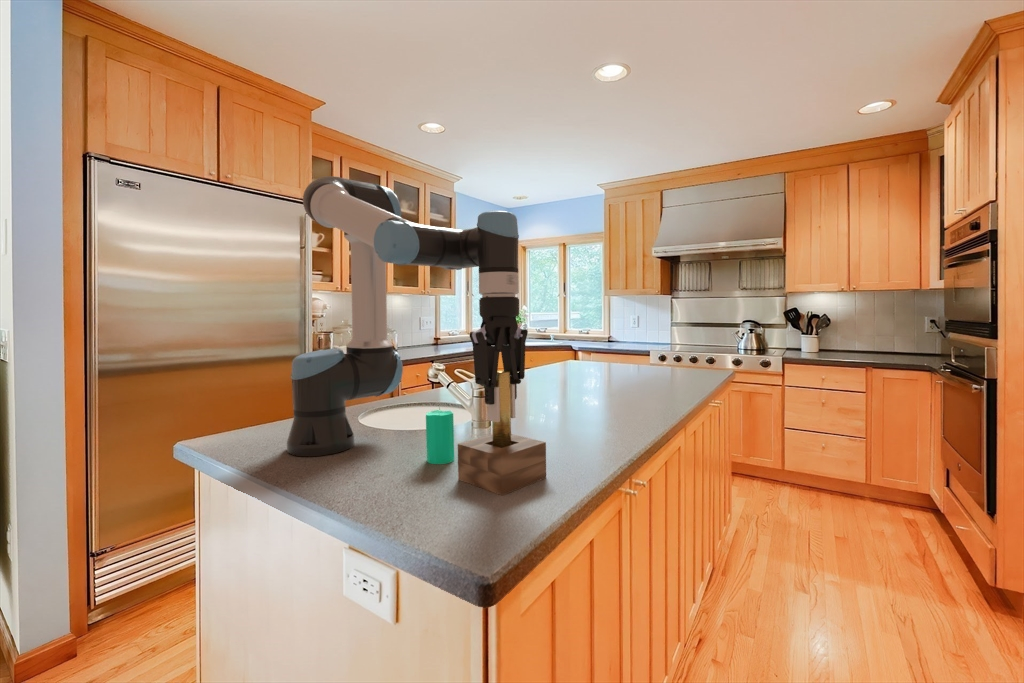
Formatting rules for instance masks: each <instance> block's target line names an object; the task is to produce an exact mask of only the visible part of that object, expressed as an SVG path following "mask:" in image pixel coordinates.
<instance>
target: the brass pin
mask: <svg viewBox="0 0 1024 683" xmlns="http://www.w3.org/2000/svg"><path fill="white" fill-rule="evenodd" d="M495 387H499V397H500V422H493V421H491V422H492V423H491V427H492V428H491V430H492V434H491V435H492V437H493V446H497V447H506V446H510V445H511V434H512V418H511V396H510V371H504V370H497V379H496V386H495Z"/></svg>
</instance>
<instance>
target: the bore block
mask: <svg viewBox="0 0 1024 683" xmlns="http://www.w3.org/2000/svg"><path fill="white" fill-rule="evenodd" d="M457 468H458V469H457V472H458V474H457V476H458V478H457V479H458V480H459V481H462V482H464V483H467V484H470V485H473V486H475V487H477V488H480V489H483V490H486V491H489V492H492V493H494V494H497V495H500V496H504V495H507V494H509V493H512V492H515V491H517V490H519V489H521V488H524V487H526V486H527V487H528V486H529V485H531V484H534V483H536V482H539V481H541V480H544V479H546V478H547V441H542V440H539V439H536V438H535V439H534V438H530V437H525V436H521V435H516V434H514V433H513V434H512V433H511V445H510V446H506V447H497V446H493V437H492V434H489V435H485V436H482V437H478V438H474V439H470V440H466V441H464V442H460V443H457Z"/></svg>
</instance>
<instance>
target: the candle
mask: <svg viewBox="0 0 1024 683" xmlns="http://www.w3.org/2000/svg"><path fill="white" fill-rule="evenodd" d="M425 429H426V430H425V431H426V433H425V434H426V462H427V463H429V464H433V465H446V464H450V463H452V462H454V461H455V430H454V412H452V411H451V410H445V411H444V410H441V406H440V405H438V409H436V410H431V411H428V412H426V413H425Z"/></svg>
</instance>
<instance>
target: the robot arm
mask: <svg viewBox="0 0 1024 683" xmlns="http://www.w3.org/2000/svg"><path fill="white" fill-rule="evenodd" d="M394 192H395V191H393V190H392V189H390V188H388V187H386V186H384V185H380V184H377V183H372V182H366V181H361V180H360V181H359V180H354V179H350V178H349V179H348V178H343V177H340V176H333V175H332V176H330V175H329V176H328V175H327V176H322V177H318V178H317V179H314V180H313V181H311V182H310V183H309V184H308V185H307V187H306V188H305V190H304V191H303V195H302V205H303V207H304V208H303V210H304V211H305V212H306V214H307V216H308V217H309V218H310V219H311V220H313V222H315V223H317V224H319V225H320V226H323V227H324V228H329V229H334V228H336V229H338V230H340V231H342V232H343V238H344V239H345V240H346V241H348V243H349V245H350V277H351V278H350V280H351V285H350V286H351V328H352V329H351V330H352V334H351V335H352V338H351V340H350V341H349V342H348V343H347V344H346V347H345V348H346V353H344V351H343V349H341V348H328V349H327V348H326V349H320V350H314V351H308V352H305V353H301V354H299V355H297V356H295V357H294V358H293V359H292V361H291V374H290V378H291V386H292V388H291V389H292V390H291V391H292V407H293V408H292V409H293V420H292V424H291V427H290V431H289V435H288V437H287V440H286V452H287V453H288V454H289V453H290V454H289V455H291V454H292V456H295V455H296V456H297V457H320V456H328V455H332V454H337V453H341V452H344V451H347V450H349V449H351V448H353V447H354V446H355V435H354V432H353V429H352V427H351V424H350V422H349V419H348V417H347V414H346V402H347V401H351V400H358V399H363V398H364V399H366V398H370V397H380V396H383V395H388V394H391V393H393V392H394V391H395V390H396V389H397V388H398V386H399V385H400V383H401V381H402V377H403V374H404V373H403V372H404V365H403V360H402V359H401V355H400V353H398V352H397V351H396V350H394V344H393V343H392V342H391V341H390V339H389V338H388V320H387V319H388V317H387V316H388V312H387V311H388V310H387V309H388V308H387V304H388V303H387V264H394V265H397V266H422V267H437V268H443V269H444V270H452V271H453V270H456V271H459V270H462V269H470V268H476V267H478V293H479V295H481V297H480V299H478V301H479V302H478V303H479V305H478V306H479V308H478V309H479V316H480V317H481V320H482V321H481V324H480V328H479V329H478V330H476V331H470V332H469V334H468V336H469V338H470V341H471V343H472V354H473V368H474V370H473V372H474V382H475V383H476V385H479V386H481V387H483V388H484V403H485V405H486V420H487V421H489V422H492V421H493V422H500V397H499V387H495V386H496V379H497V371H499V370H498V368H499V360H500V355H501V360H502V361H501V362H502V367H503V371H510V396H511V419H515V418H516V400H517V397H518V396H517V395H518V393H517V392H518V391H517V389H518V388H517V385H520V384H521V382H522V380H524V378H525V376H526V375H525V372H526V370H525V368H526V341H527V337H528V333H529V332H528V329H526V328H521V327H519V325H518V321H517V317H519V316H520V299H519V297H518V296H516V295H518V294H519V290H520V288H519V287H520V286H519V239H520V235H519V227H518V218H517V216H516V214H514V213H513V212H509V211H505V210H492V211H491V210H490V211H483V212H482V213H480V214H478V216H477V222H476V227H473V228H467V229H458V228H457V229H456V228H449V227H441V226H434V225H426V224H421V223H416V222H412V221H410V220H407V219H406V218H404V217H402V207H401V203H400V201H399V198H398V196H397V194H396V193H394ZM296 456H295V457H296Z"/></svg>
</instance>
